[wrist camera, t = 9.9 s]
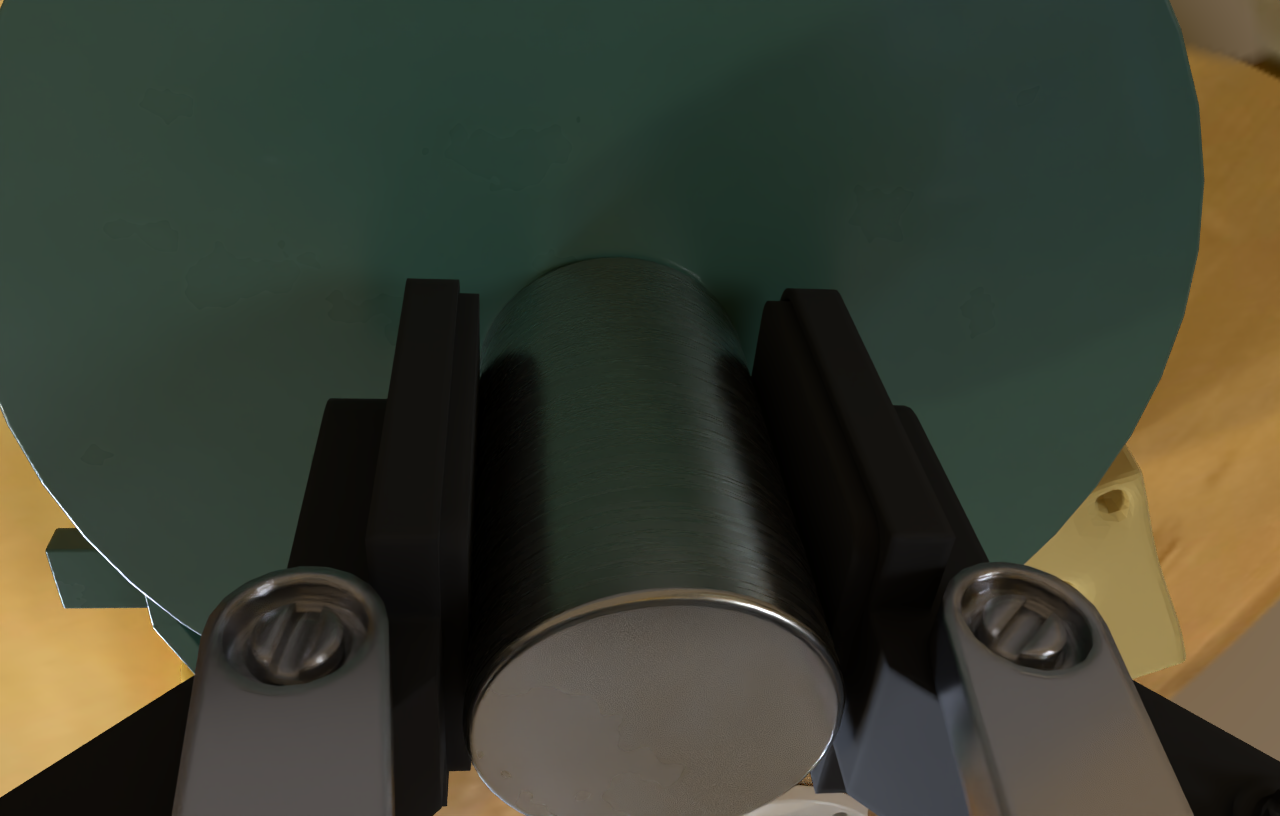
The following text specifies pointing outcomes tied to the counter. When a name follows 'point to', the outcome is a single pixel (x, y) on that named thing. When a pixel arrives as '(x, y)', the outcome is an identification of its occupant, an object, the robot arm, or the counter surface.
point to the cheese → (1119, 568)
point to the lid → (587, 311)
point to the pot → (110, 590)
